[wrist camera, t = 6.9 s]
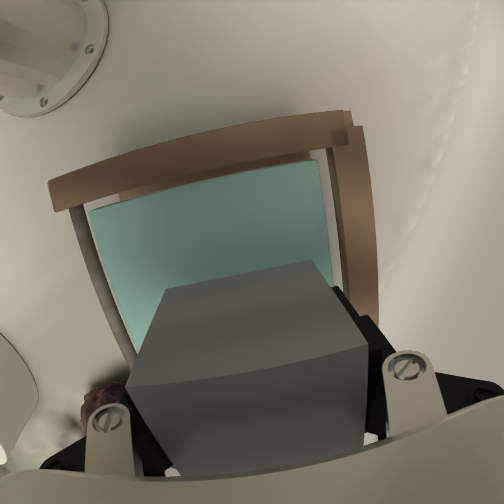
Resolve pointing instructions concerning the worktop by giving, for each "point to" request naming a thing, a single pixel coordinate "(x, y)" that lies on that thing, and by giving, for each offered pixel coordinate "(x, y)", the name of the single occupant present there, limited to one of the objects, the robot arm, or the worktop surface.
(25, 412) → the toilet paper roll
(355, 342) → the gray cube
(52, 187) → the frame
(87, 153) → the worktop surface
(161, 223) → the trapdoor
